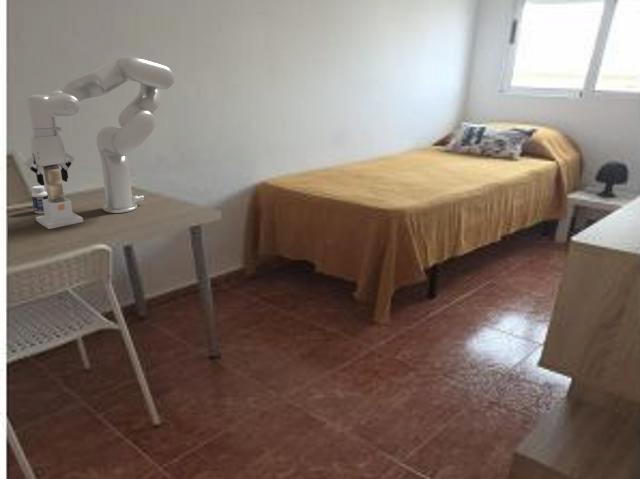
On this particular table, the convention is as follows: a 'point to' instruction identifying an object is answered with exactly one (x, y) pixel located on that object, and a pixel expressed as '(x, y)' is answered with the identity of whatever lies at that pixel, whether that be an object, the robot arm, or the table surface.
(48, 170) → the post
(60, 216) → the white stand
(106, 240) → the table surface
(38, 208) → the pill bottle
